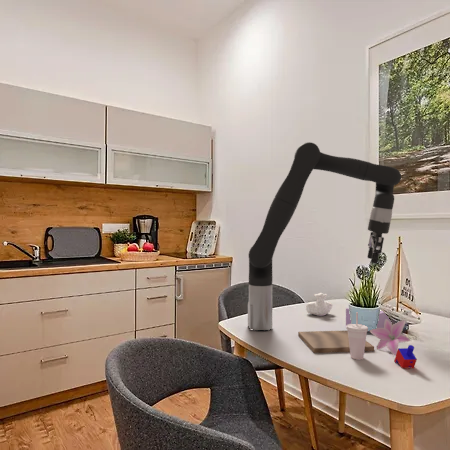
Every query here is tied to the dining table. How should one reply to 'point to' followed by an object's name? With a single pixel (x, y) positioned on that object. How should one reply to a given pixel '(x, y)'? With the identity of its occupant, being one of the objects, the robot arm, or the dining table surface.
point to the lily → (390, 335)
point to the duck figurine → (319, 305)
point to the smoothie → (357, 339)
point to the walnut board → (329, 341)
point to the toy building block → (406, 357)
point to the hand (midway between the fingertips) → (372, 260)
